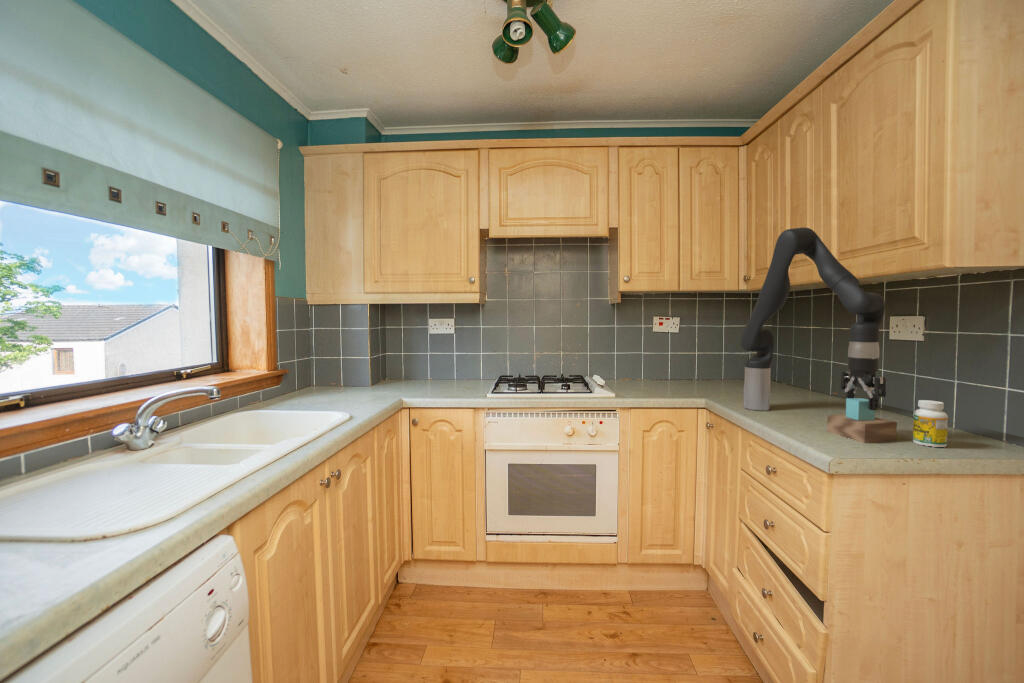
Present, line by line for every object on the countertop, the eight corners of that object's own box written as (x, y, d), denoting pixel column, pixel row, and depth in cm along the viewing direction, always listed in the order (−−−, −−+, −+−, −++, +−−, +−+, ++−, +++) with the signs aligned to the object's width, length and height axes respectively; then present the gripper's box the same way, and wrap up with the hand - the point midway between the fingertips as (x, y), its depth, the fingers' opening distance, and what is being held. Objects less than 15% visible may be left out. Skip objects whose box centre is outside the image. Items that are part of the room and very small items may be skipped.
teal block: (845, 416, 136) (846, 398, 135) (861, 416, 135) (861, 398, 135) (858, 420, 131) (858, 401, 130) (874, 420, 130) (875, 401, 130)
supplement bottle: (954, 448, 121) (956, 404, 120) (928, 448, 121) (931, 404, 120) (929, 440, 128) (931, 399, 127) (905, 441, 128) (907, 399, 127)
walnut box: (827, 433, 138) (827, 415, 137) (856, 431, 140) (857, 413, 140) (864, 444, 126) (865, 424, 126) (896, 441, 128) (896, 422, 128)
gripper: (834, 354, 139) (832, 402, 140) (870, 358, 125) (868, 412, 126) (856, 353, 139) (854, 402, 140) (896, 358, 125) (893, 412, 126)
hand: (861, 406), depth 133 cm, fingers open, 8 cm apart
